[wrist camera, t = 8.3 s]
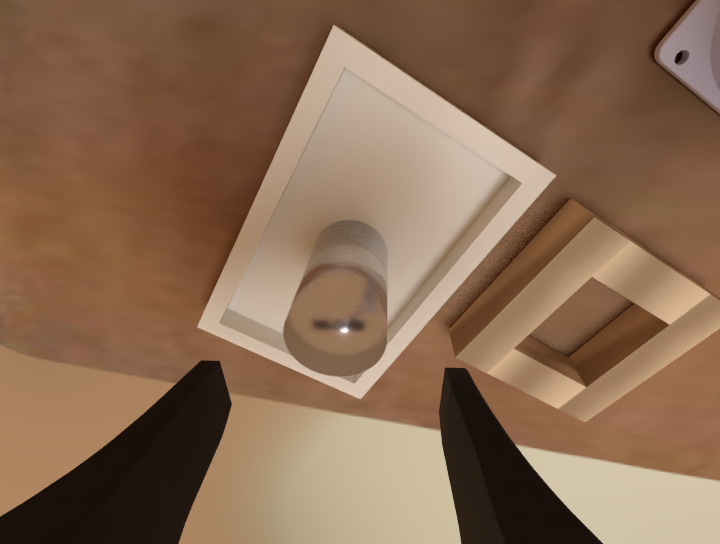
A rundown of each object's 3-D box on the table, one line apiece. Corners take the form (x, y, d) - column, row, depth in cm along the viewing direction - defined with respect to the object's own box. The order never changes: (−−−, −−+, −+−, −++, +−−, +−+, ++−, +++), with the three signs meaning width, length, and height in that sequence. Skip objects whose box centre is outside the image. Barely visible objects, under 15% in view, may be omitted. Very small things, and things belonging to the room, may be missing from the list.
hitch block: (704, 286, 21) (740, 314, 19) (568, 391, 26) (585, 422, 24) (570, 197, 19) (594, 217, 17) (448, 329, 24) (455, 357, 21)
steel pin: (399, 271, 21) (403, 360, 15) (335, 294, 22) (314, 387, 16) (368, 208, 19) (359, 279, 13) (301, 237, 20) (263, 315, 14)
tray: (540, 163, 18) (556, 175, 16) (362, 376, 26) (360, 399, 24) (339, 27, 16) (333, 24, 14) (210, 306, 24) (197, 327, 22)
